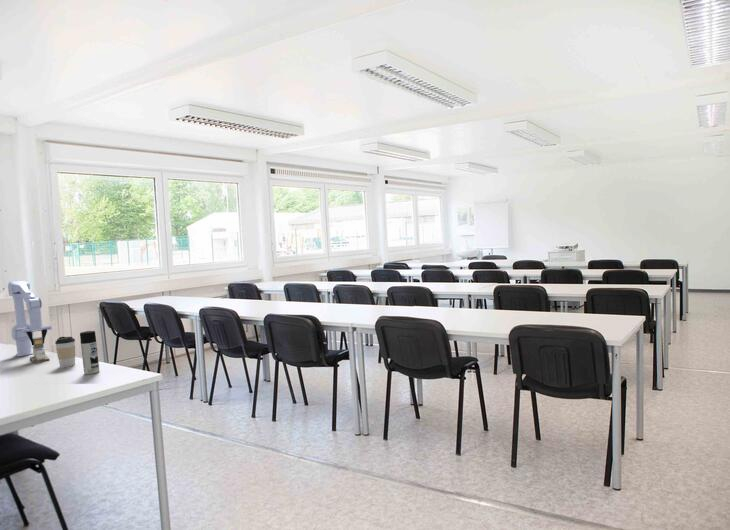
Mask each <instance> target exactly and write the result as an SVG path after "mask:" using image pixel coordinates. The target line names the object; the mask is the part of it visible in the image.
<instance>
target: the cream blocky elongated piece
mask: <svg viewBox="0 0 730 530" xmlns="http://www.w3.org/2000/svg"><path fill="white" fill-rule="evenodd" d="M32 353H33V354H32V355H33V356H29V359H30V361H31V360H32V361H31V362H32V363H33V364H36V363H37V362H38V363H42V361H43V362H48V360H49V361H50V358H49V357H48V356H47V354H46V350H45V349H44V348H39V349H34V348H33V347H32Z"/></svg>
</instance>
